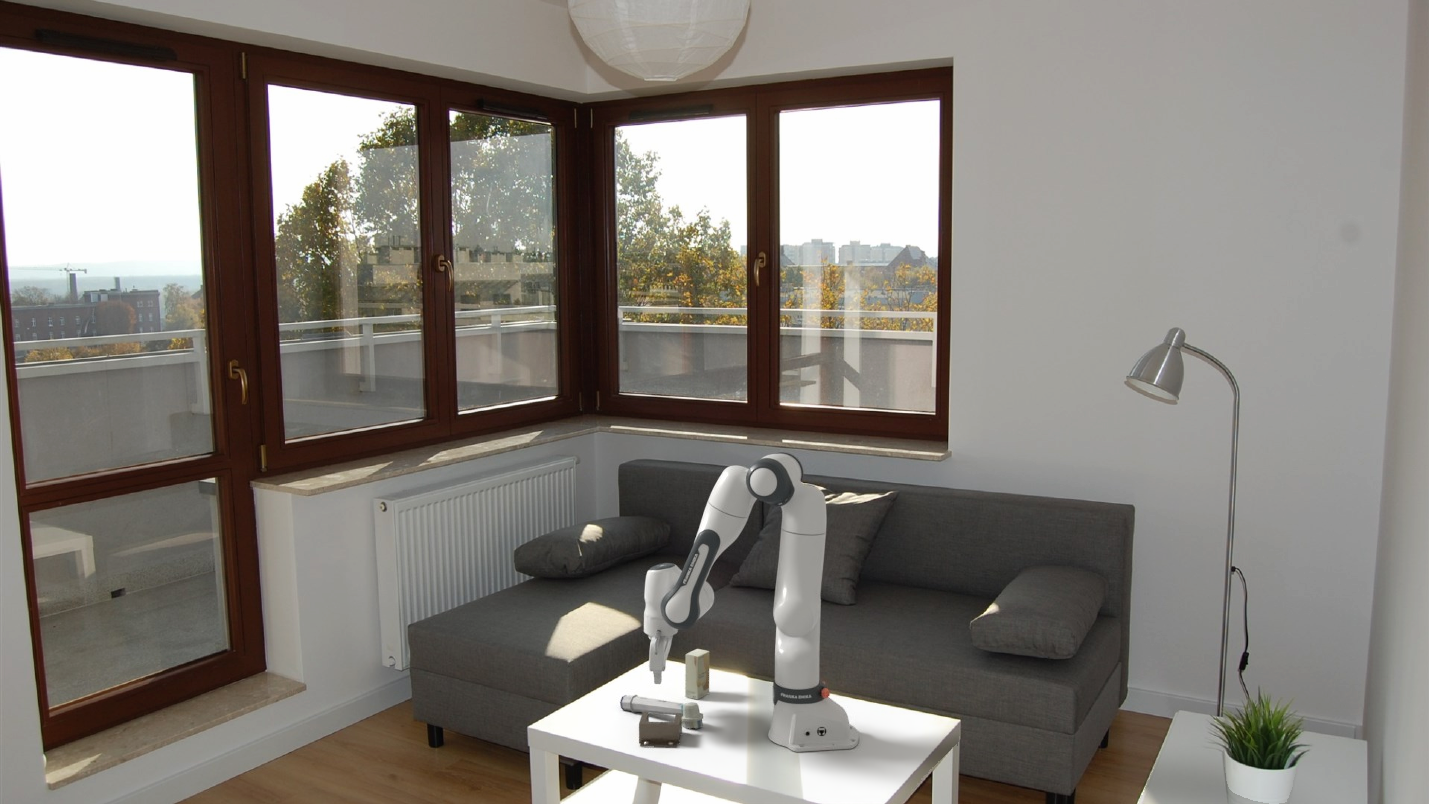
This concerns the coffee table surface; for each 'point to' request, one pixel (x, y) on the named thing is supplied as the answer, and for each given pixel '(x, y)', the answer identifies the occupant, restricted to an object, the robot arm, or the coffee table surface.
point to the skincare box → (697, 674)
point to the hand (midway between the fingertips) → (659, 676)
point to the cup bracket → (660, 732)
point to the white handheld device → (664, 709)
